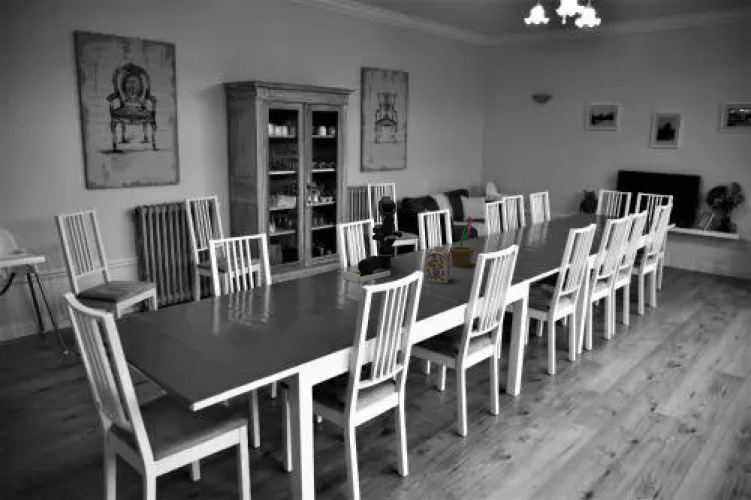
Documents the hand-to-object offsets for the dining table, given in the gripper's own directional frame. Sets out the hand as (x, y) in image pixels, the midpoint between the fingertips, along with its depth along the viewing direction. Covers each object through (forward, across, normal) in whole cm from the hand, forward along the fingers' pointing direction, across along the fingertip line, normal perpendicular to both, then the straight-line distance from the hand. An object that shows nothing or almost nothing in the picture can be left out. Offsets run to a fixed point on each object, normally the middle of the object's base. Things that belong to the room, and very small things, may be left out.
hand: (387, 251), depth 321 cm
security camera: (+12, +14, 0) cm, 19 cm away
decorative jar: (+12, -8, +30) cm, 33 cm away
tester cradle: (+12, +16, 0) cm, 20 cm away
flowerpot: (+12, -44, +18) cm, 50 cm away
